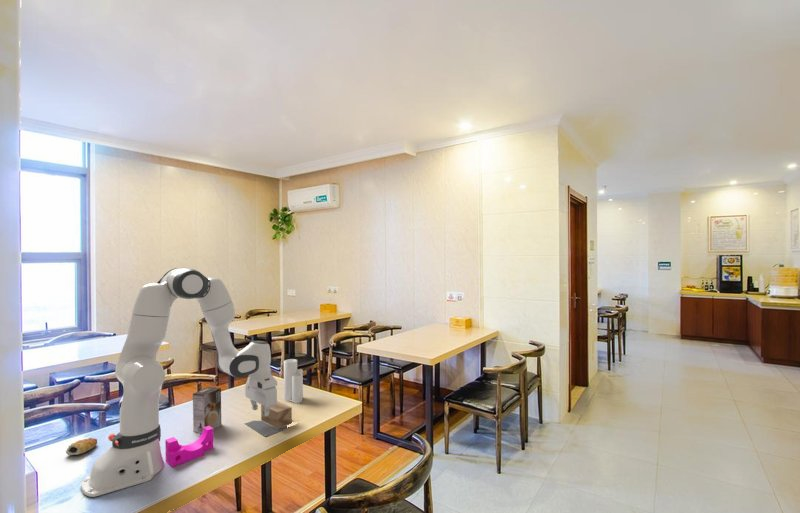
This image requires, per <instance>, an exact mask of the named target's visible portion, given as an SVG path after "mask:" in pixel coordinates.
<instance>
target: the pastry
mask: <svg viewBox="0 0 800 513" xmlns="http://www.w3.org/2000/svg"><path fill="white" fill-rule="evenodd" d="M97 444H98V439H97V438H92V437H89V438H85V439H81V440H80V439H79V440H76V441H75V442H73V443H71V444H70V445H68V448H66V450H65V454H66V455H67V456H73V455H81V454H84V453H86V452H88V451H90V450H92V449H93V448H95V447H96V446H97Z"/></svg>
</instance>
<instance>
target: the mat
mask: <svg viewBox="0 0 800 513" xmlns="http://www.w3.org/2000/svg"><path fill="white" fill-rule="evenodd" d="M244 425H245V426H247V427H249V428H250V429H251V430H253V431H255V432H257V433H258V434H260V435H261V436H262V437H264V438H268V437H270V436H272V435H275V434H277V433H280V432H282V431H285V430H288V429H290V428H289V427H288V429H287V426H284V427H281V428H279V429H276V428H274V427H272V426H270V425H269V424H267V423H265V422H263V421H261V420H251V421H248V422H245V423H244Z"/></svg>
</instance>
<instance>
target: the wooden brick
mask: <svg viewBox="0 0 800 513" xmlns="http://www.w3.org/2000/svg"><path fill="white" fill-rule="evenodd" d="M260 408H261V410H260V412H261V413H260V418H261V419H260V421H263V422H265V423H267V424H269V425H270V426H272V427H274V428H276V429H279V428H281V427H284V426H287V425H289V424H291V423H292V421H293V419H292V418H293V416H292V415H293V413H292V410H293V409H292V408H293V407H292V406H290V405H287V404H286V403H284V402H281V401H278V400H277V403H276V405H275V406H273V407H271V408H270V410H269V415H268V416H264V415H263V411H265V408H264V406H263V405H261V404H260Z"/></svg>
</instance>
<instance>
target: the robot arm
mask: <svg viewBox="0 0 800 513" xmlns="http://www.w3.org/2000/svg"><path fill="white" fill-rule="evenodd" d="M177 299H186V300H192V299H196V300H197V302H198V304H199V306H200V309H201V312H202V315H203V317H204V319H205V321H206V323H207V325H208V327H209V330H210V332H211V336H212V339H213V342H214V345H215V346H214V347H215V349H216V363H215V364H216V368H218V370H219V371H220V372H222V373H225V374H227V375H229V376H231V377H234V378H236V379H237V378H239V379H240V378H241V379H242V378H245V377H247V376H248V377H247V381H246V382H245V388H244V389H245V390H244V392H245V393H244V395H245V397H246V398H247V399H249V400H250V403H251V404H250V405H251V410H253V411H257V410H258V409H259V408H258V404H260V406H261V405H263V406H264V408H265V411H263V415H264V416H268V415H269V410H270V408H271V407H273V406H275V405H276V403H277V401H278V391H277V386H278V381H277V379H275V377H274V376H273V374H272V370H271V363H272V354H271V348H270V347H271V346H270V344H269V343H268V342H266V341H262V340H251V341H250V342H249V344H248V345H246V346H245V347H244V348H242V349H240V350H238V349H237V348H236V347H235V346H234V343H233V341H232V338H231V334H230V330H229V325H230V324H232V322H233V321H234V319H235V317H236V312H235V306H234V303H233V300H232V298H231V296H230V293H229V290H228V289H227V286H226V285H225V283H224V282H223V280H221V279H220V278H219V277H214V276H213V277H206V276H205V275H204V274H203V273H201V272H200V271H198V270H196V269H193V268H188V267H175V268H172V269H170V270H168V271H166V273H165V274H164V275H163V276H162V277H161V278H160V279H159V280H158V281H157V282H156V283H155V282H151V283H147V284H145V285H143V286H142V287H141V288H140V289H139V291H138V294H137V297H136V299H135V301H134V304H133V308H132V312H131V316H130V322H129V325H128V326H129V327H128V331H127V334H126V335H127V336H126V339H125V342H124V345H123V347H122V350H121V352H120V355H119V357H118V361H117V362H116V365H115V377H116V379H117V380H118V381H119V382H120V383H121V384H122V386H123V393H122V394H123V395H122V400H121V406H120V409H119V432H117V434H115V433H110V434H109V435H108V436H107V439H108V440H109V442H111V443H112V444H111V447H109V449H107V450H106V451H105V452H104V453H103V454H101V455H100V456H99V457H98V458H97V459H96V460H95V461H94V462H93V464H92V466H91V468H90V474H89V475H88V476H85V478H83V480H82V481H81V484H80V489H81V492H82V493H83V494H84V495H85V496H87V497H91V498H94V497H98V496H103V495H106V494H109V493H111V492H115V491H119V490H123V489H126V488H130V487H132V486H135V485H140V484H142V483H146V482H149V481H151V480H152V479H153V478H154V477H155V475H156V474H158V473H159V472H160V471H161V470H162V469H164V467H165V465H166V463H165V460H164V458H163V454H162V449H161V443H160V442H161V436H162V434H161V433H162V430H161V424H160V423H159V422H160V418H159V417H160V409H159V407H160V397H161V393H162V387H163V383H165V382H164V381H165V379H166V373H165V370H164V367H163V366H162V364H161V362H159V361H157V360H156V359H157V356H158V352H159V351H160V348H161V345H162V343H163V342H164V341H165V339H166V334H167V329H168V325H169V319H170V315H171V314H170V313H171V308H172V306H173V303H174V302H175V301H176V300H177Z"/></svg>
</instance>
